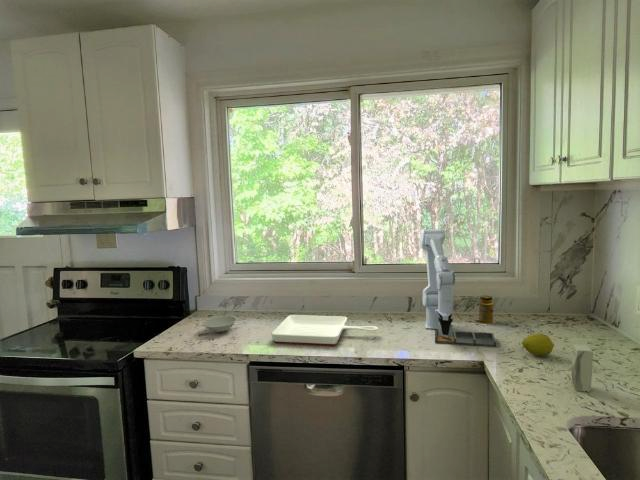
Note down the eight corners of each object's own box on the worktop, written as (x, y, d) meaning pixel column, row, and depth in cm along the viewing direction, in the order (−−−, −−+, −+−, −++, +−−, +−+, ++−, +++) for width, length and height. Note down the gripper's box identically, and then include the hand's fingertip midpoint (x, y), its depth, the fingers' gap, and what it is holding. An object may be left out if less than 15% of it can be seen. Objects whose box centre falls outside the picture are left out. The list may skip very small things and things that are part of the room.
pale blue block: (443, 333, 176) (443, 321, 176) (452, 336, 172) (452, 324, 171) (438, 334, 175) (438, 323, 174) (447, 338, 170) (447, 326, 170)
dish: (225, 339, 182) (224, 328, 181) (196, 336, 186) (195, 325, 186) (244, 326, 199) (243, 316, 198) (217, 324, 203) (216, 314, 202)
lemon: (551, 352, 156) (552, 331, 155) (557, 360, 149) (557, 339, 148) (519, 350, 159) (520, 330, 158) (523, 358, 152) (524, 337, 151)
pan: (289, 324, 202) (289, 314, 201) (380, 327, 193) (380, 317, 192) (270, 345, 174) (269, 334, 174) (376, 350, 165) (375, 338, 164)
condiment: (497, 322, 193) (497, 297, 192) (483, 325, 189) (484, 299, 188) (484, 318, 200) (484, 294, 198) (471, 321, 196) (471, 296, 195)
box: (570, 383, 131) (571, 343, 130) (586, 385, 130) (588, 345, 129) (575, 391, 126) (576, 350, 125) (592, 392, 125) (593, 351, 124)
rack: (435, 334, 179) (435, 329, 179) (493, 338, 173) (493, 333, 173) (434, 342, 170) (434, 337, 170) (496, 346, 164) (496, 341, 163)
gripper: (435, 295, 180) (435, 326, 181) (435, 304, 166) (435, 337, 167) (452, 296, 178) (452, 327, 179) (453, 305, 164) (453, 338, 165)
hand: (445, 332), depth 173 cm, fingers closed on pale blue block, 5 cm apart
